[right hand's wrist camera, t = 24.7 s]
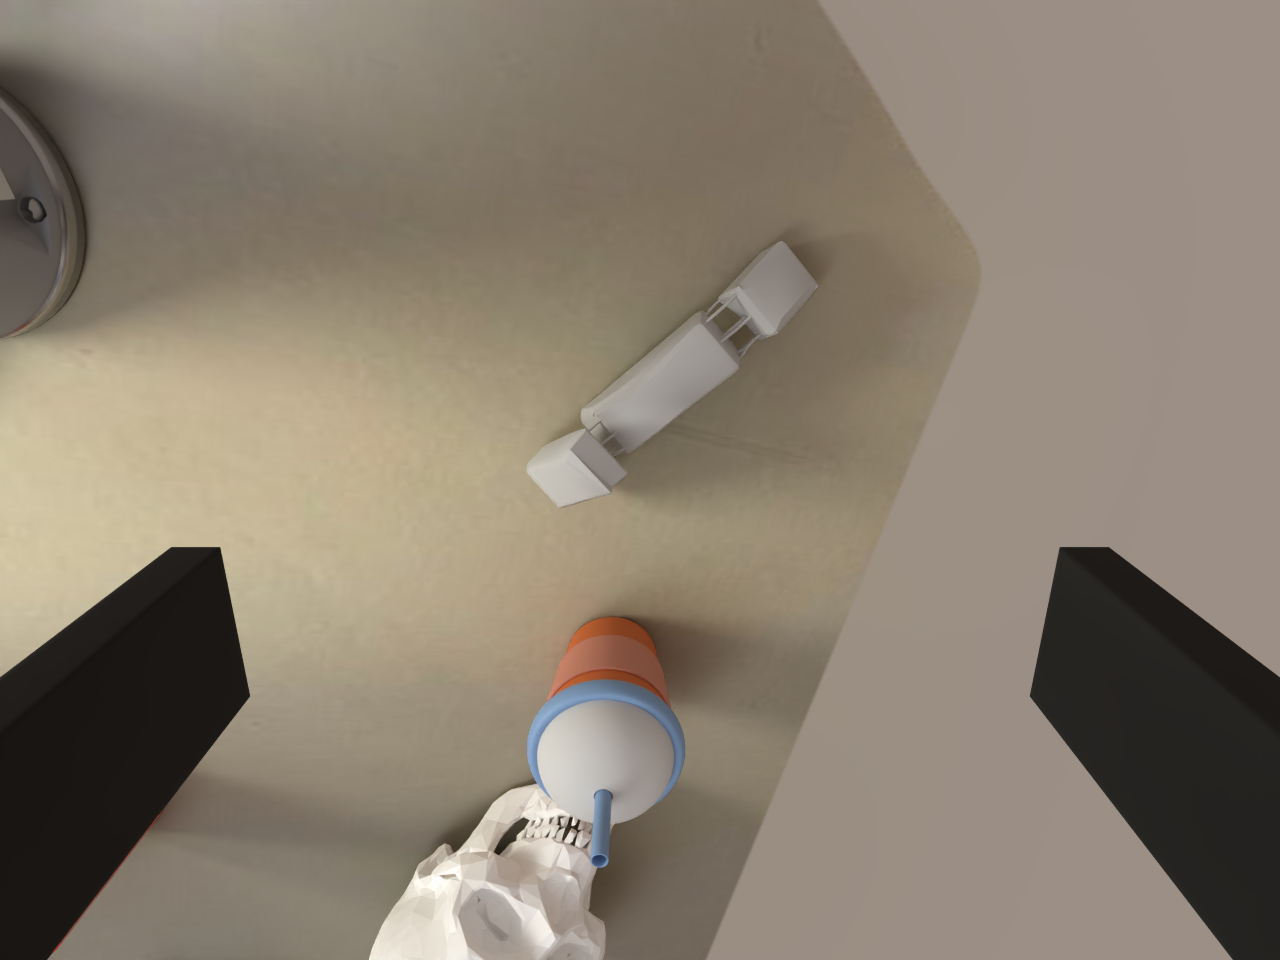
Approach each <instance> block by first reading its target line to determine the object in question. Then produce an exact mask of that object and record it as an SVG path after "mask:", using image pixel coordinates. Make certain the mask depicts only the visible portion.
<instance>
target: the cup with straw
mask: <svg viewBox="0 0 1280 960" xmlns="http://www.w3.org/2000/svg"><path fill="white" fill-rule="evenodd" d="M527 757H528V762H529V766H530V770H531V772H532V774H533V777H534V779H535V780H536V782H537V784H538V785H539V787H540V788H541V789H542V790H543V792H544V793H545V794H546V795H547V796H548V797H549V798H550V799H552V800H553V801H554V802H555V803H556V804H557V805H558V806H559V807H560V808H561V809H563V810H564V811H565V812H567V813H568V814H570V815H571V816H573V817H575V818H577V819H579V820H582V821H585V822H589V823H593V831H592V845H591V858H590V861H591V864H592V865H593V866H595V867H597V868H602V867H605V866H606V865H607V864H608V862H609V844H610V824H617V823H622V822H625V821H628V820H631V819H633V818H635V817H637V816H639V815H641V814H642V813H644V812H645V811H647V810H648V809H649V808H650V807H652V806H653V805H655V804H656V803H658V802H659V801H660V800H661V799H663V798H664V797H665V796H666V795H667V794H668V793H669V791H670V790H671V789H672V788H673V786H674V785H675V783H676V781H677V780H678V778H679V776H680V773H681V771H682V767H683V764H684V758H685V740H684V735H683V731H682V728H681V725H680V723H679V721H678V719H677V717H676V716H675V714H674V712H673V711H672V710H671V706H670V702H669V697H668V692H667V687H666V682H665V678H664V673H663V670H662V667H661V664H660V662H659V661H658V658H657V653H656V649H655V646H654V643H653V641H652V639H651V637H650V636H649V634H648V633H647V632H646V631H645V630H644V629H643V628H642V627H641V626H639V625H638V624H636V623H634V622H632V621H630V620H627V619H624V618H619V617H604V618H599V619H596V620H593V621H591V622H589V623H587V624H585V625H584V626H582V627H581V628H580V629H579V630H578V631H577V632H576V633H575V635H574V636H573V637H572V639H571V641H570V644H569V646H568V649H567V652H566V655H565V656H564V657H563V659H562V661H561V662H560V665H559V667H558V670H557V673H556V676H555V679H554V681H553V684H552V687H551V690H550V693H549V696H548V699H547V702H546V703H545V705H544V706H543V707H542V708H541V709H540V711H539V712H538V714H537V715H536V717H535V719H534V721H533V723H532V725H531V728H530V731H529V735H528V741H527Z"/></svg>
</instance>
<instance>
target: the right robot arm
mask: <svg viewBox="0 0 1280 960" xmlns="http://www.w3.org/2000/svg"><path fill="white" fill-rule="evenodd" d="M84 249H85V228H84V219H83V212H82V207H81V203H80V199H79V195H78V192H77V189H76V186H75V183H74V181H73V178H72V176H71V174H70V171H69V169H68V167H67V165H66V163H65V161H64V159H63V158H62V156H61V154H60V152H59V151H58V149H57V147H56V146H55V144H54V143H53V141H52V140H51V138H50V137H49V136H48V134H47V133H46V132H45V130H44V129H43V128H42V126H41V125H40V124H39V123H38V122H37V121H36V120H35V118H34V117H33V116H32V115H31V114H30V113H29V112H28V111H27V110H26V109H25V108H24V107H23V106H22V105H21V104H20V103H19V102H17V101H16V100H15V99H14V98H13V97H12V96H10V95H9V94H8V93H7V92H5V91H4V90H3V89H1V88H0V339H4V338H8V337H13V336H17V335H20V334H22V333H25V332H28V331H30V330H32V329H34V328H36V327H38V326H40V325H41V324H43V323H44V322H46V321H47V320H48V319H50V318H51V317H52V316H53V315H54V314H55V313H56V312H57V311H58V310H59V309H60V308H61V307H62V306H63V305H64V303H65V302H66V300H67V299H68V297H69V296H70V294H71V292H72V291H73V289H74V287H75V285H76V282H77V280H78V277H79V274H80V271H81V267H82V263H83V257H84ZM249 697H250V693H249V688H248V683H247V678H246V673H245V668H244V663H243V658H242V653H241V648H240V643H239V638H238V633H237V628H236V623H235V618H234V613H233V608H232V603H231V598H230V593H229V588H228V584H227V579H226V574H225V569H224V564H223V559H222V554H221V549H220V547H171V548H170V549H168V550H167V551H166V552H164V553H163V554H162V555H160V556H159V557H158V558H156V559H155V560H154V561H152V562H151V563H150V564H149V565H147V566H146V567H145V568H143V569H142V570H141V571H139V572H138V573H137V574H135V575H134V576H133V577H131V578H130V579H129V580H128V581H126V582H125V583H124V584H122V585H121V586H120V587H118V588H117V589H116V590H114V591H113V592H112V593H110V594H109V595H108V596H106V597H105V598H104V599H103V600H101V601H100V602H99V603H97V604H96V605H95V606H93V607H92V608H91V609H89V610H88V611H87V612H85V613H84V614H83V615H82V616H80V617H79V618H78V619H76V620H75V621H74V622H72V623H71V624H70V625H68V626H67V627H66V628H64V629H63V630H62V631H61V632H59V633H58V634H57V635H55V636H54V637H53V638H51V639H50V640H49V641H47V642H46V643H45V644H43V645H42V646H41V647H39V648H38V649H37V650H36V651H34V652H33V653H32V654H30V655H29V656H28V657H26V658H25V659H24V660H22V661H21V662H20V663H18V664H17V665H16V666H15V667H13V668H12V669H11V670H9V671H8V672H7V673H5V674H4V675H3V676H1V677H0V960H47V959H48V958H49V957H50V955H51V954H52V953H53V951H54V950H55V949H56V947H57V946H58V945H59V944H60V942H61V941H62V940H63V938H64V937H65V936H66V935H67V933H68V932H69V931H70V929H71V928H72V927H73V925H74V924H75V923H76V922H77V920H78V919H79V918H80V916H81V915H82V914H83V912H84V911H85V910H86V909H87V907H88V906H89V905H90V903H91V902H92V901H93V899H94V898H95V897H96V896H97V894H98V893H99V892H100V890H101V889H102V888H103V886H104V885H105V884H106V883H107V881H108V880H109V879H110V877H111V876H112V875H113V874H114V872H115V871H116V870H117V868H118V867H119V866H120V864H121V863H122V862H123V861H124V859H125V858H126V857H127V855H128V854H129V853H130V851H131V850H132V849H133V848H134V846H135V845H136V844H137V842H138V841H139V840H140V838H141V837H142V836H143V835H144V833H145V832H146V831H147V829H148V828H149V827H150V826H151V824H152V823H153V822H154V820H155V819H156V818H157V816H158V815H159V814H160V813H161V811H162V810H163V809H164V807H165V806H166V805H167V803H168V802H169V801H170V800H171V798H172V797H173V796H174V794H175V793H176V792H177V790H178V789H179V788H180V787H181V785H182V784H183V783H184V781H185V780H186V779H187V777H188V776H189V775H190V774H191V772H192V771H193V770H194V768H195V767H196V766H197V765H198V763H199V762H200V761H201V759H202V758H203V757H204V755H205V754H206V753H207V752H208V750H209V749H210V748H211V746H212V745H213V744H214V742H215V741H216V740H217V739H218V737H219V736H220V735H221V733H222V732H223V731H224V729H225V728H226V727H227V726H228V724H229V723H230V722H231V720H232V719H233V718H234V717H235V715H236V714H237V713H238V711H239V710H240V709H241V707H242V706H243V705H244V704H245V702H246V701H247V700H248V698H249ZM1030 697H1031V698H1032V700H1033V701H1034V702H1035V703H1036V705H1037V706H1038V707H1039V709H1040V710H1041V711H1042V713H1043V714H1044V715H1045V716H1046V718H1047V719H1048V720H1049V722H1050V723H1051V724H1052V726H1053V727H1054V728H1055V729H1056V731H1057V732H1058V733H1059V735H1060V736H1061V737H1062V739H1063V740H1064V741H1065V742H1066V744H1067V745H1068V746H1069V748H1070V749H1071V750H1072V752H1073V753H1074V754H1075V755H1076V757H1077V758H1078V759H1079V761H1080V762H1081V763H1082V765H1083V766H1084V767H1085V768H1086V770H1087V771H1088V772H1089V774H1090V775H1091V776H1092V777H1093V779H1094V780H1095V781H1096V783H1097V784H1098V785H1099V787H1100V788H1101V789H1102V790H1103V792H1104V793H1105V794H1106V796H1107V797H1108V798H1109V800H1110V801H1111V802H1112V803H1113V805H1114V806H1115V807H1116V809H1117V810H1118V811H1119V813H1120V814H1121V815H1122V816H1123V818H1124V819H1125V820H1126V822H1127V823H1128V824H1129V826H1130V827H1131V828H1132V829H1133V831H1134V832H1135V833H1136V835H1137V836H1138V837H1139V838H1140V840H1141V841H1142V842H1143V844H1144V845H1145V846H1146V847H1147V849H1148V850H1149V851H1150V853H1151V854H1152V855H1153V857H1154V858H1155V859H1156V861H1157V862H1158V863H1159V864H1160V866H1161V867H1162V868H1163V870H1164V871H1165V872H1166V873H1167V875H1168V876H1169V877H1170V879H1171V880H1172V881H1173V883H1174V884H1175V885H1176V886H1177V888H1178V889H1179V890H1180V892H1181V893H1182V894H1183V896H1184V897H1185V898H1186V899H1187V901H1188V902H1189V903H1190V905H1191V906H1192V907H1193V908H1194V910H1195V911H1196V912H1197V914H1198V915H1199V916H1200V918H1201V919H1202V920H1203V922H1204V923H1205V924H1206V925H1207V927H1208V928H1209V929H1210V931H1211V932H1212V933H1213V935H1214V936H1215V937H1216V938H1217V940H1218V941H1219V942H1220V944H1221V945H1222V946H1223V947H1224V949H1225V950H1226V951H1227V953H1228V954H1229V955H1230V957H1231V958H1232V959H1233V960H1280V677H1279V676H1277V675H1276V674H1275V673H1273V672H1272V671H1271V670H1269V669H1268V668H1267V667H1265V666H1264V665H1263V664H1262V663H1260V662H1259V661H1258V660H1256V659H1255V658H1254V657H1252V656H1251V655H1250V654H1248V653H1247V652H1246V651H1244V650H1243V649H1242V648H1240V647H1239V646H1238V645H1237V644H1235V643H1234V642H1233V641H1231V640H1230V639H1229V638H1227V637H1226V636H1225V635H1223V634H1222V633H1221V632H1219V631H1218V630H1217V629H1216V628H1214V627H1213V626H1212V625H1210V624H1209V623H1208V622H1206V621H1205V620H1204V619H1202V618H1201V617H1200V616H1198V615H1197V614H1196V613H1195V612H1193V611H1192V610H1191V609H1189V608H1188V607H1187V606H1185V605H1184V604H1183V603H1181V602H1180V601H1179V600H1177V599H1176V598H1175V597H1174V596H1172V595H1171V594H1170V593H1168V592H1167V591H1166V590H1164V589H1163V588H1162V587H1160V586H1159V585H1158V584H1156V583H1155V582H1154V581H1152V580H1151V579H1150V578H1149V577H1147V576H1146V575H1145V574H1143V573H1142V572H1141V571H1139V570H1138V569H1137V568H1135V567H1134V566H1133V565H1131V564H1130V563H1129V562H1128V561H1126V560H1125V559H1124V558H1122V557H1121V556H1120V555H1118V554H1117V553H1116V552H1114V551H1113V550H1112V549H1110V548H1109V547H1060V549H1059V554H1058V559H1057V564H1056V569H1055V574H1054V579H1053V584H1052V588H1051V593H1050V598H1049V603H1048V608H1047V613H1046V618H1045V624H1044V628H1043V633H1042V638H1041V643H1040V648H1039V653H1038V658H1037V663H1036V668H1035V673H1034V678H1033V683H1032V688H1031V693H1030Z"/></svg>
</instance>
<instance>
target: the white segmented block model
mask: <svg viewBox="0 0 1280 960" xmlns="http://www.w3.org/2000/svg"><path fill="white" fill-rule="evenodd" d="M817 288H818V284H817V282H816V281H815V280H814V279H813V277H812V276H811V275H810V274H809V272H808V271H807V270H806V269H805V267H804V266H803V265H802V264H801V262H800V261H799V260H798V259H797V257H796V256H795V255H794V253H793V252H792V251H791V250H790V248H789V247H788V246H787V245H786V243H784V242H783V241H779V242H777V243H776V244H774V245H772V246H771V247H769V248H767V249H765V250H764V251H762V252H761V253H760V254H758V255H757V257H756V258H755V259H754V260H753V261H752V262H751V263H750V264H749V265H748V266H747V267H746V268H745V269H744V270H743V272H742V273H741V274H740V275H739V276H738V277H737V278H736V279H735V280H734V281H733V282H732V283H731V284H730V285H729V287H728V288H727V289H726V290H725V291H724V292H723V293H722V294H721V295H720V296H719V298H718V300H717V301H716V302H715V303H714V304H713V305H712V306H711V308H710V309H709V310H708V311H707V312H705V311H702V310H701V311H699V312H697V313H695V314H694V315H693V316H692V317H690V318H689V319H688V320H687V321H686V322H685V323H683V324H682V325H681V326H680V327H679V328H678V329H676V330H675V331H674V332H673V333H672V334H670V335H669V336H668V337H667V338H666V339H665V340H663V341H662V342H661V343H660V344H659V345H658V346H656V347H655V348H654V349H653V350H652V351H650V352H649V353H648V354H647V355H646V356H644V357H643V358H642V359H641V360H640V361H639V362H637V363H636V364H635V365H634V366H633V367H631V368H630V369H629V370H628V371H627V372H625V373H624V374H623V375H622V376H621V377H619V378H618V379H617V380H616V381H615V382H614V383H612V384H611V385H610V386H609V387H608V388H606V389H605V390H604V391H603V392H602V393H600V394H599V395H598V396H597V397H596V398H595V399H593V400H592V401H591V402H590V403H589V404H587V405H586V406H585V407H584V408H583V409H582V411H581V422H582V423H583V425H584V426H585V427H586V428H587V429H586V428H583V429H580V430H577V431H573V432H571V433H569V434H567V435H565V436H563V437H561V438H559V439H557V440H554V441H552V442H550V443H548V444H546V445H544V446H543V447H542V448H541V449H540V450H539V452H538V453H537V454H536V455H535V456H534V457H533V458H532V459H531V460H530V462H529V463H528V464H527V473H528V474H529V475H530V476H531V478H532V479H533V480H534V481H535V482H536V483H537V484H538V485H539V486H540V487H541V489H542V490H543V491H544V492H545V493H546V494H547V495H548V496H549V497H550V499H551V500H552V501H553V502H554V503H555V504H556V505H557V506H558V507H559V508H561V507H567V506H570V505H574V504H577V503H580V502H583V501H586V500H590V499H593V498H597V497H601V496H605V495H609V494H611V491H612V488H613V487H614V486H615V485H616V484H618V483H619V482H620V481H621V480H622V479H623V478H624V477H625V476H626V475H628V472H627V471H626V470H625V468H624V467H623V466H622V465H621V464H620V463H619V462H618V461H617V460H616V459H615V458H614V457H615V456H617V455H618V454H624V453H627V454H629V453H631V452H633V451H634V450H636V449H637V448H638V447H640V446H641V445H642V444H644V443H645V442H646V441H648V440H649V439H650V438H652V437H653V436H654V435H656V434H657V433H658V432H660V431H661V430H662V429H663V428H665V427H666V426H667V425H669V424H670V423H671V422H672V421H674V420H675V419H676V418H677V417H679V416H680V415H681V414H682V413H684V412H685V411H686V410H687V409H689V408H690V407H691V406H692V405H694V404H695V403H696V402H698V401H699V400H700V399H702V398H703V397H704V396H705V395H707V394H708V393H709V392H711V391H712V390H713V389H715V388H716V387H717V386H719V385H720V384H721V383H722V382H724V381H725V380H726V379H728V378H729V377H730V376H732V375H733V374H734V373H736V372H737V370H738V369H739V368H740V360H741V358H742V357H743V356H744V354H745V353H746V351H747V350H748V348H749V347H750V346H751V344H752V343H753V342H754V341H755V340H757V339H759V340H762V339H765V338H768V337H771V336H774V335H776V334H777V333H778V332H779V331H781V330H782V329H783V328H784V327H785V326H786V325H787V324H788V323H789V321H790V320H791V319H792V318H793V317H794V316H795V315H796V314H797V312H798V311H799V310H800V309H801V308H802V307H803V305H804V304H805V303H806V301H807V300H808V299H809V298H810V296H811V295H812V294H813V293H814V291H815V290H816V289H817ZM719 303H721V304H722V305H723V306H722V307H720V308H719V309H718V310H717V311H716V312H715V313H714V314H712V315H711V316H709V314H710V312H711V311H712V310H713V309H714V308H715V307H716V306H717V305H718V304H719ZM725 307H727V308H729V309H730V310H732V311H733V312H734V313H735V314H736V315H737V316H738V317H739V318H740V320H739V321H738V322H737V323H735V324H734V325H733V326H732V327H731V328H730V329H728V330H727V331H726V332H725V333H724V332H723V331H722V330H721V328H720V327H719V326H718V325H717V324H716V323H715V321H714V320H713V318H714V317H715V316H716V315H718V314H719V313H720V312H721V311H722V310H723V309H724V308H725ZM741 322H742V323H741ZM740 323H741V324H740ZM744 324H745V325H746V326H747V327H748V328H749V329H750V330H751V331H752V332H753V334H754V335H755V337H754V338H752V339H751V340H750V341H749V342H748V343H747V344H745V345H744V346H743V347H742V348H740V349H739V350H738V348H737V347H736V346H735V345H734V344H733V343H732V341H731V340H730V339H729V337H730V336H731V335H733V334H734V333H735V332H737V331H738V330H739V329H740V328H741V327H742V326H743V325H744ZM732 330H733V331H732ZM742 351H743V352H742ZM741 352H742V353H741ZM739 353H741V354H740V355H739ZM611 454H612V455H611Z"/></svg>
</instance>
